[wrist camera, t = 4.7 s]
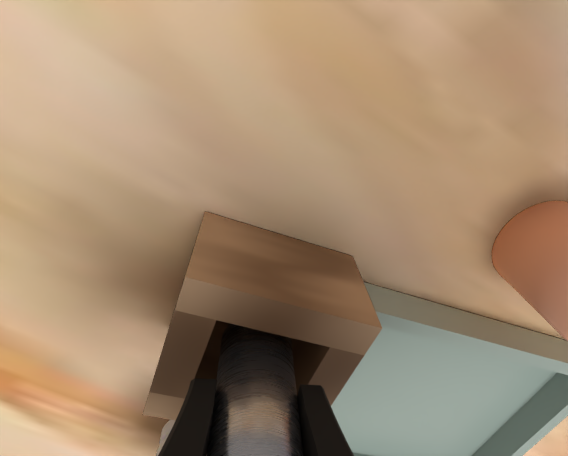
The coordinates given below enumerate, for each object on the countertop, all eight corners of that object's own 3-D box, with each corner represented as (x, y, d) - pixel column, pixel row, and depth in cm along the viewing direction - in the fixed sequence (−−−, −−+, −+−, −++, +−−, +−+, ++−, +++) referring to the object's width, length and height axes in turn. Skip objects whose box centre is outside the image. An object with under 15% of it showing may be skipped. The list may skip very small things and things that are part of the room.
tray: (581, 344, 18) (613, 375, 16) (455, 468, 22) (470, 501, 21) (363, 282, 15) (375, 311, 14) (273, 436, 20) (274, 471, 18)
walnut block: (352, 256, 14) (382, 328, 11) (296, 358, 17) (306, 443, 14) (205, 211, 13) (185, 276, 10) (168, 329, 16) (142, 415, 12)
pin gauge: (298, 320, 12) (338, 608, 6) (282, 370, 13) (303, 660, 7) (227, 310, 12) (192, 607, 6) (216, 362, 13) (177, 661, 7)
